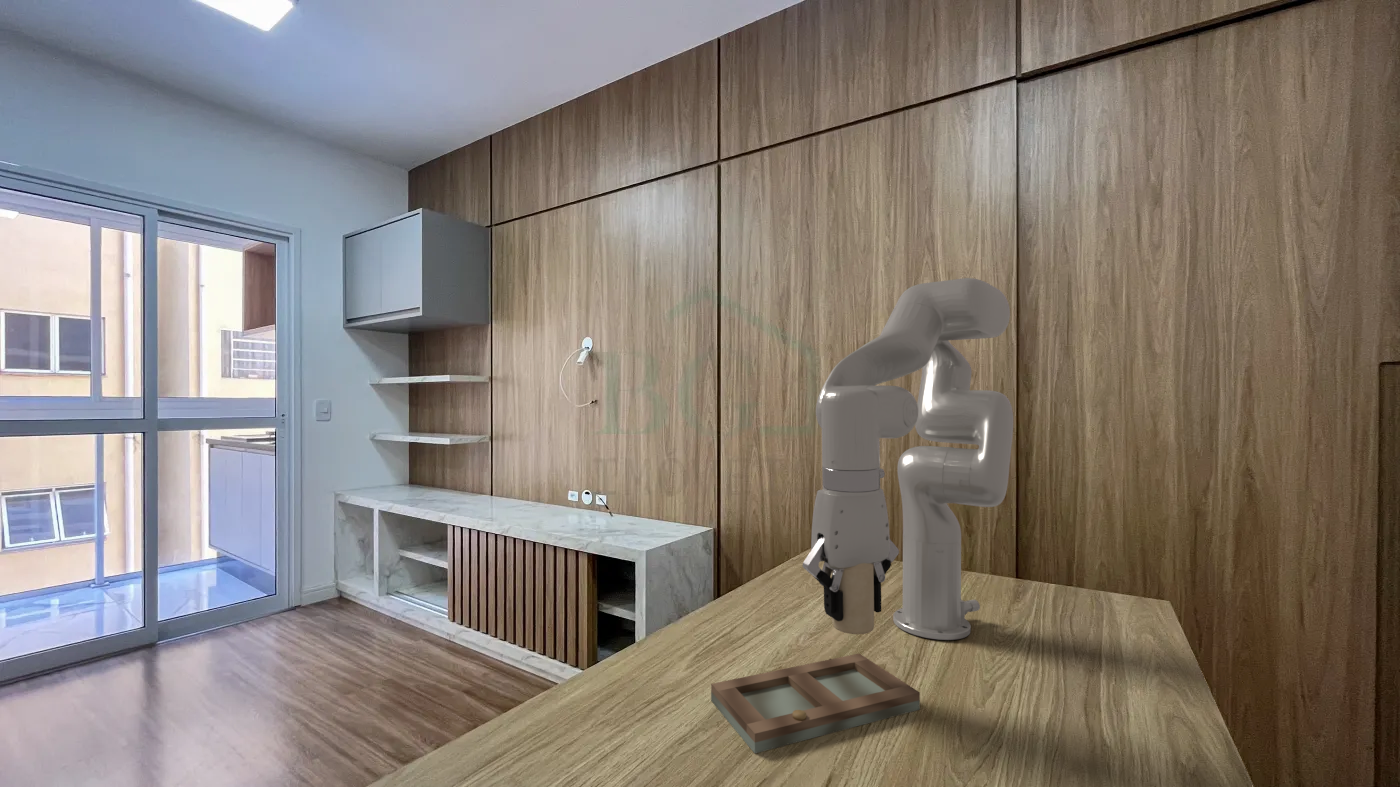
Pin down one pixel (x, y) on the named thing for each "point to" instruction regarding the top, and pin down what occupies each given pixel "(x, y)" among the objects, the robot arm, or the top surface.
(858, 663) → the divided tray
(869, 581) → the candle
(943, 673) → the top surface
